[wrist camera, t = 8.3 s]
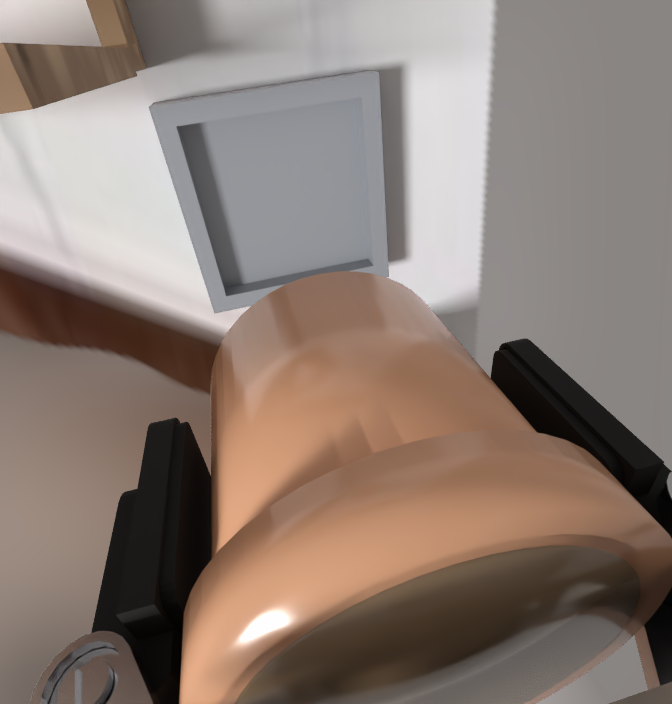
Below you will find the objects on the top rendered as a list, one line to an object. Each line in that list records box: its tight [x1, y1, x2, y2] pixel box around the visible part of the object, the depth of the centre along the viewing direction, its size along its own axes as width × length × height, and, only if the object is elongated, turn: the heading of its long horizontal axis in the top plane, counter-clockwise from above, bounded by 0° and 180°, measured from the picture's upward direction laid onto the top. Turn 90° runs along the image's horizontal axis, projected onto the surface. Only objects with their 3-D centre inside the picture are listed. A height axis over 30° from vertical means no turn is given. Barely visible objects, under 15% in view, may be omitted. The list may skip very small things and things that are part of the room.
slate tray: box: [149, 71, 389, 313], centre depth 31 cm, size 14×14×2 cm
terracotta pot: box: [179, 271, 672, 704], centre depth 9 cm, size 7×7×7 cm
